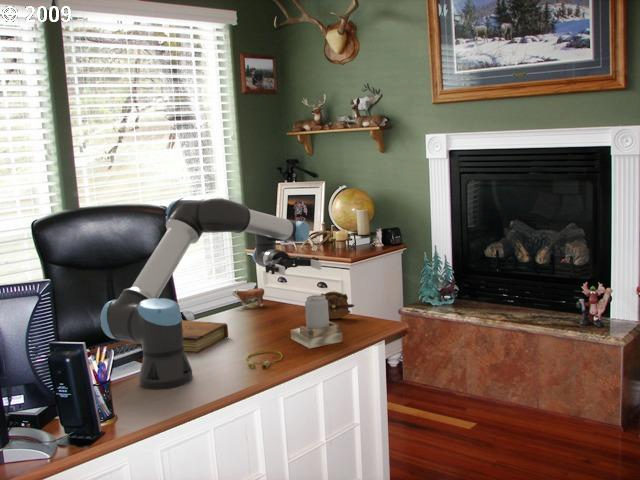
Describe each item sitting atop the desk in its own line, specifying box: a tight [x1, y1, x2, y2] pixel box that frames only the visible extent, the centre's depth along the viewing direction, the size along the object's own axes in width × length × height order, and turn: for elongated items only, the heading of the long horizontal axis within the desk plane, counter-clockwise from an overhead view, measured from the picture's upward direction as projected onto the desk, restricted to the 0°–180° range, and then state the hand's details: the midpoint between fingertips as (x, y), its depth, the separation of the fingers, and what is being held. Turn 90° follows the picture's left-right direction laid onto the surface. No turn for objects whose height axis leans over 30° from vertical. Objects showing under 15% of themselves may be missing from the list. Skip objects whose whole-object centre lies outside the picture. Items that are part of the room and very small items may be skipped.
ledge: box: [290, 320, 343, 349], centre depth 243 cm, size 12×14×6 cm
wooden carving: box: [320, 290, 355, 320], centre depth 268 cm, size 16×5×10 cm, turn 83°
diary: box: [182, 319, 229, 354], centre depth 250 cm, size 23×19×6 cm
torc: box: [246, 349, 283, 370], centre depth 226 cm, size 12×16×2 cm
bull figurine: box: [230, 287, 265, 310], centre depth 294 cm, size 4×13×8 cm, turn 100°
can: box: [304, 294, 330, 330], centre depth 241 cm, size 8×8×12 cm
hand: (302, 268), depth 247 cm, fingers open, 13 cm apart
